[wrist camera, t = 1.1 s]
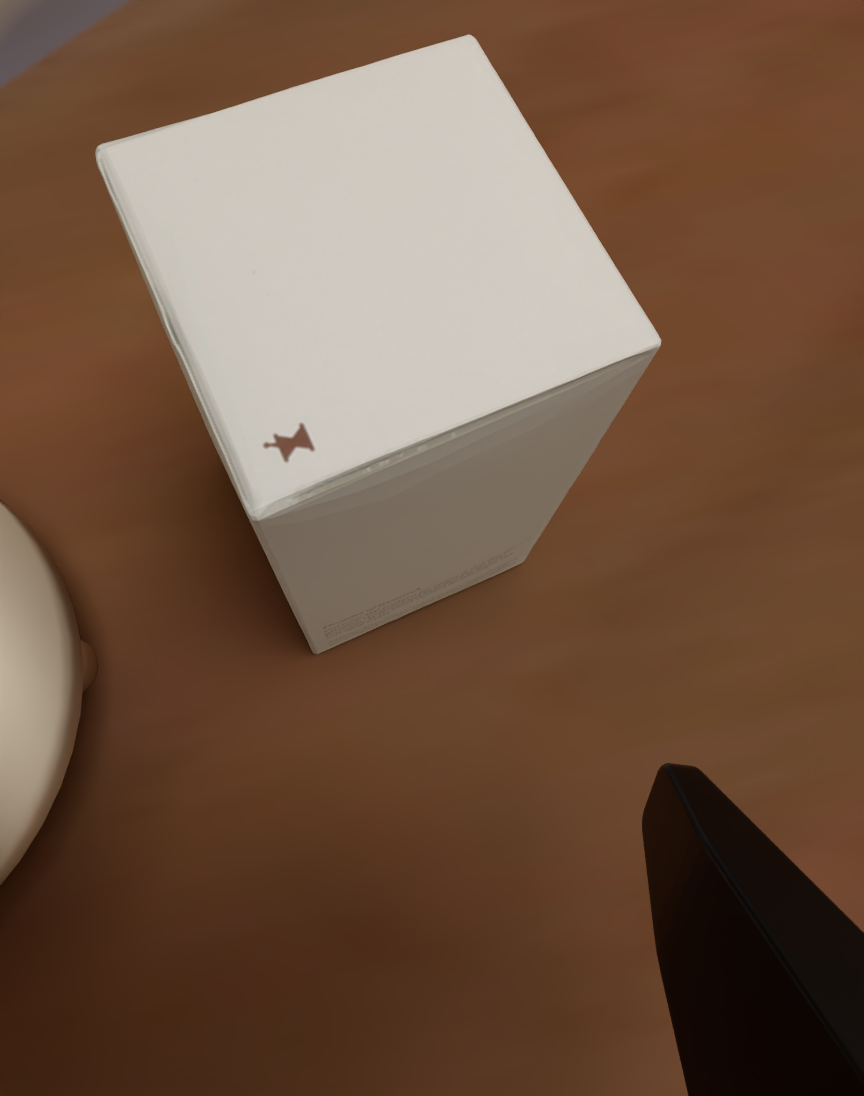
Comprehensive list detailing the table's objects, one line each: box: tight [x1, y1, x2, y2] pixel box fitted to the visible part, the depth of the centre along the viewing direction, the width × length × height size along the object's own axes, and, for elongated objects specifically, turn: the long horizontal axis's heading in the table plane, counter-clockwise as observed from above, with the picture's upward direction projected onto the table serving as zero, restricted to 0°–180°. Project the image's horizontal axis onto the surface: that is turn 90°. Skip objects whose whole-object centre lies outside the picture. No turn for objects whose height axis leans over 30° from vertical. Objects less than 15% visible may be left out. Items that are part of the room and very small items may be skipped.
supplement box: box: [96, 35, 661, 654], centre depth 18 cm, size 7×7×13 cm
